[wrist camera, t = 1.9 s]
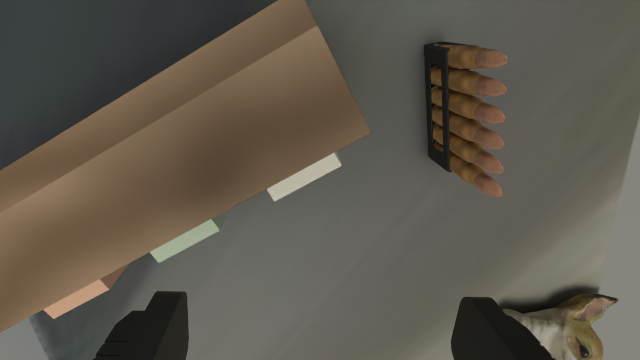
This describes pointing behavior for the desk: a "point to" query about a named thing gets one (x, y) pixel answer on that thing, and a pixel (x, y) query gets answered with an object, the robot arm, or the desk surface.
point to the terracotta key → (84, 294)
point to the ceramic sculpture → (568, 326)
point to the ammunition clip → (463, 111)
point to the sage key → (189, 238)
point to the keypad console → (171, 156)
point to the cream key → (305, 176)
